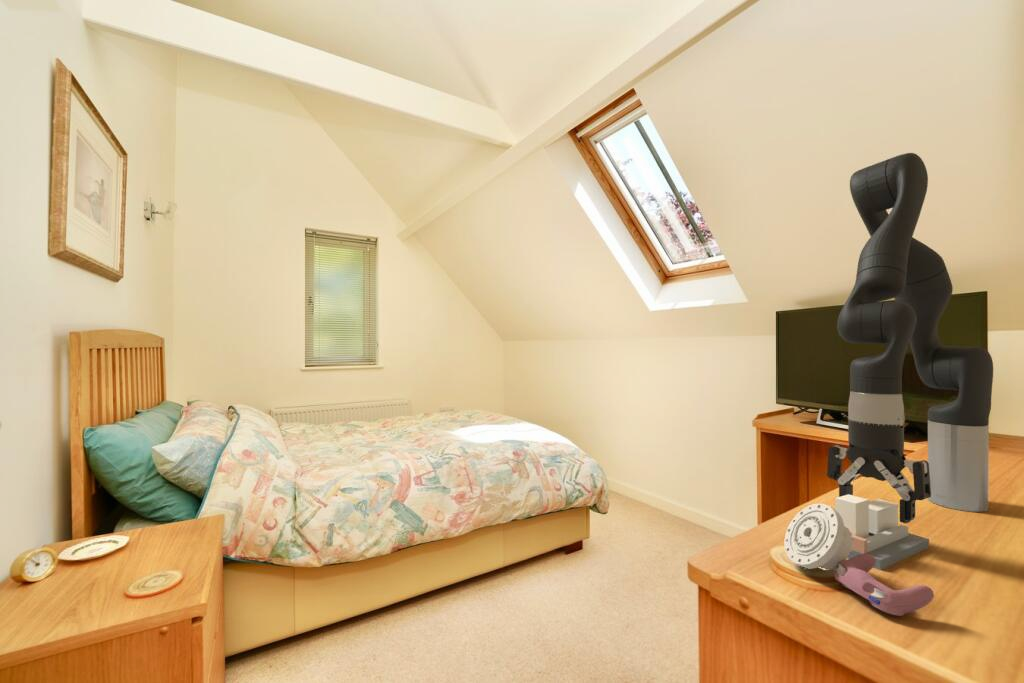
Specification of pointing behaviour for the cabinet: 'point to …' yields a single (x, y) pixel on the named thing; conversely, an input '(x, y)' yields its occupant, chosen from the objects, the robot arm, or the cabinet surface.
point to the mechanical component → (818, 538)
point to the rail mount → (882, 545)
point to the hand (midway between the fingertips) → (875, 513)
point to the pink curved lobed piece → (880, 587)
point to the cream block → (882, 516)
